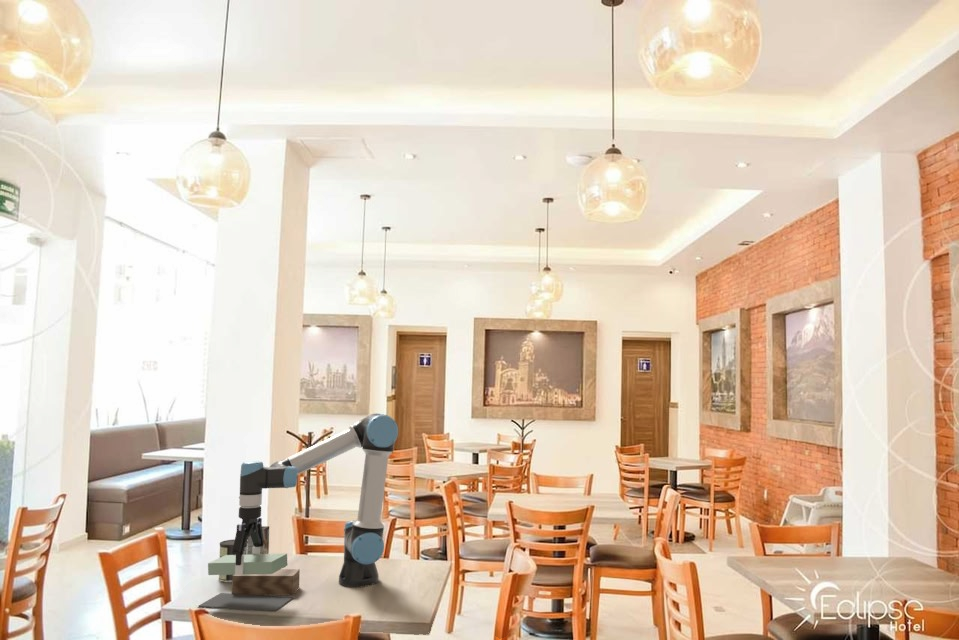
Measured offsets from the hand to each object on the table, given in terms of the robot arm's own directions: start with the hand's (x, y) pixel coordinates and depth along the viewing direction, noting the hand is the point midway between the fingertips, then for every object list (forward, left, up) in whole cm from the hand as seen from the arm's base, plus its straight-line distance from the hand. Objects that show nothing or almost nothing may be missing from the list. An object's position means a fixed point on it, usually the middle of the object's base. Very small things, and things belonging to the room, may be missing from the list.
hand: (247, 570), depth 242 cm
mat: (0, 0, -11) cm, 11 cm away
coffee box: (+18, -44, -11) cm, 49 cm away
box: (-1, -14, -11) cm, 18 cm away
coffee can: (+20, -27, -11) cm, 35 cm away
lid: (0, 0, 0) cm, 0 cm away
